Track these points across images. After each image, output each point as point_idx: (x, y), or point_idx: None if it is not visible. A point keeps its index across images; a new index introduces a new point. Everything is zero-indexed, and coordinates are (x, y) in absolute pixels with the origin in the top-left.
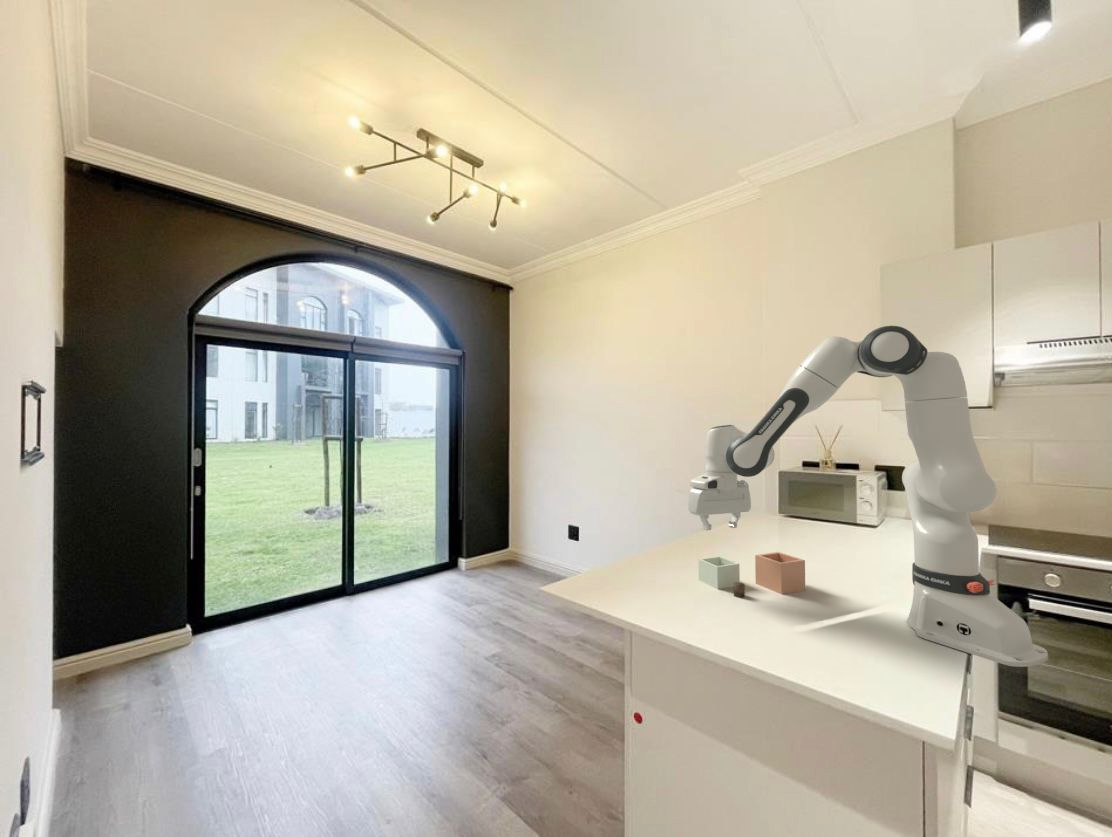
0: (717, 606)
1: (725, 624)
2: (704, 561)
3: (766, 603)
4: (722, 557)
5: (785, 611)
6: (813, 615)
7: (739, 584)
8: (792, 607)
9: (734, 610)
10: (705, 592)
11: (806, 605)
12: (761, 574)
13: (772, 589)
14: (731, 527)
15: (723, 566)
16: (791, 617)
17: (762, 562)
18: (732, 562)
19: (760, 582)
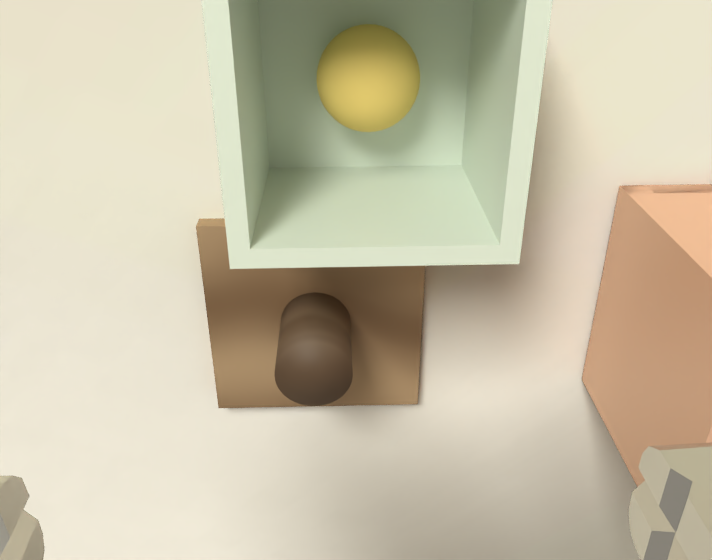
0: (109, 347)
1: (26, 504)
2: (211, 65)
3: (424, 402)
4: (543, 9)
5: (426, 492)
6: (507, 550)
7: (309, 383)
8: (506, 473)
9: (175, 413)
10: (168, 136)
11: (596, 477)
12: (651, 291)
13: (601, 336)
14: (640, 491)
15: (310, 265)
16: (392, 538)
17: (697, 364)
18: (503, 192)
19: (628, 247)
